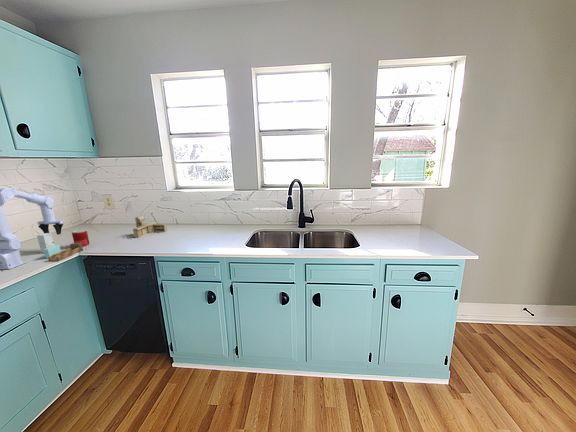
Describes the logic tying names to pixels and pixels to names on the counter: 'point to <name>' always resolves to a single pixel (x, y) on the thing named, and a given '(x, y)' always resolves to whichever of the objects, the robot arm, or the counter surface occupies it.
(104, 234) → the counter surface
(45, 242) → the skincare box
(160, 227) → the toy kitchen set
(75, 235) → the canned food
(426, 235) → the counter surface
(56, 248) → the door panel
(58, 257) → the track
